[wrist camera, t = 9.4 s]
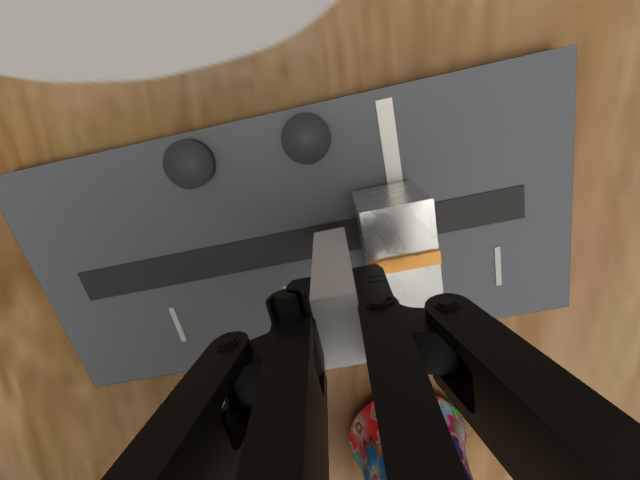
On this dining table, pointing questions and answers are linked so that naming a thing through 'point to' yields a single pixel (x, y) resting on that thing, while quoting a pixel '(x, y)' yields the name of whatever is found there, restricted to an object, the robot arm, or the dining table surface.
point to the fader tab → (401, 239)
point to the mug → (369, 446)
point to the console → (300, 210)
